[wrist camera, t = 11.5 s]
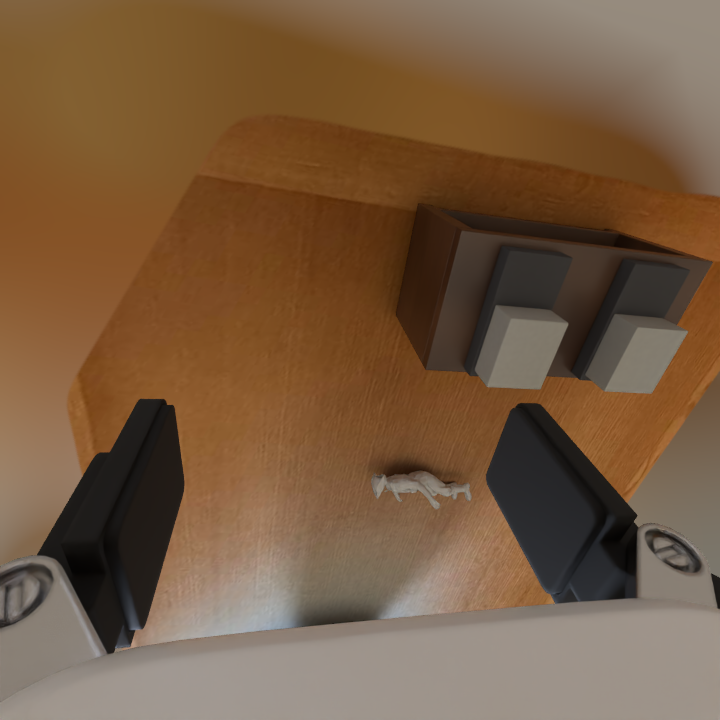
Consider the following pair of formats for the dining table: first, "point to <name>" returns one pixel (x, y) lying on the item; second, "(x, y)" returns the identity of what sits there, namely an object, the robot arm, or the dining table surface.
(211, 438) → the dining table surface
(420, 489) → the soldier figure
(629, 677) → the robot arm
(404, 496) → the dining table surface
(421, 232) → the shoe rack
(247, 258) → the dining table surface
